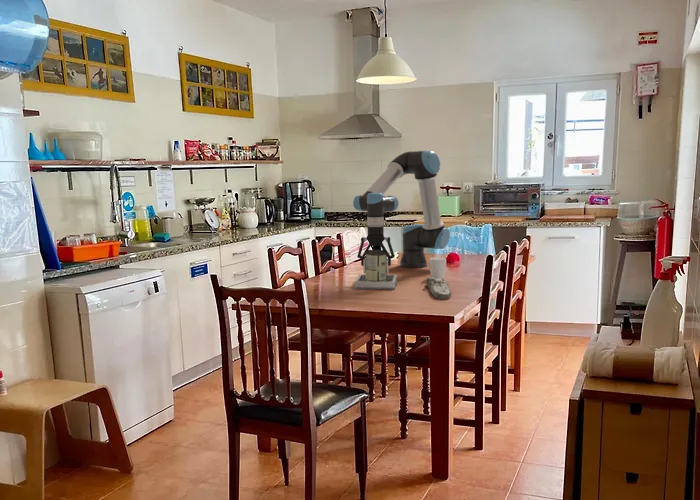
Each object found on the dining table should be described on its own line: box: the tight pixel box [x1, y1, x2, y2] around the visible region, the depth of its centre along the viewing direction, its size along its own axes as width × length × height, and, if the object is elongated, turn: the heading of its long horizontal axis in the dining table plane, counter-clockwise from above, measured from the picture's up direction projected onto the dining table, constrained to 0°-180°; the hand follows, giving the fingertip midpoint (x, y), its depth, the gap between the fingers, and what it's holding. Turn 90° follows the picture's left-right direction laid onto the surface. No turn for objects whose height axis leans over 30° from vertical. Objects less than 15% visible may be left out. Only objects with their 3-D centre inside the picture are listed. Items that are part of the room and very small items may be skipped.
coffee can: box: [364, 249, 388, 282], centre depth 282 cm, size 10×10×14 cm
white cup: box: [429, 256, 447, 280], centre depth 297 cm, size 8×8×10 cm
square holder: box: [354, 274, 398, 291], centre depth 283 cm, size 18×18×4 cm
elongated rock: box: [425, 276, 452, 300], centre depth 268 cm, size 35×5×10 cm
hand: (376, 272), depth 283 cm, fingers closed on coffee can, 10 cm apart
